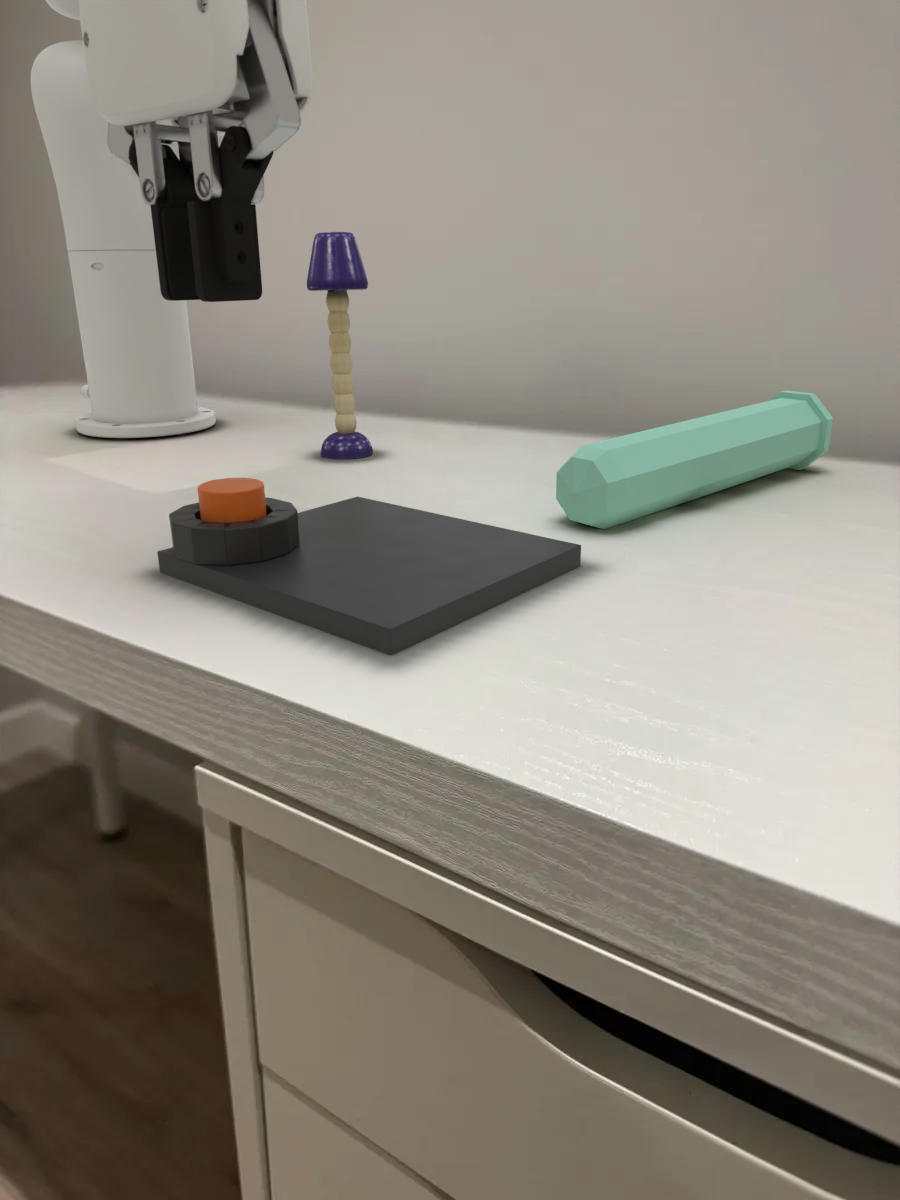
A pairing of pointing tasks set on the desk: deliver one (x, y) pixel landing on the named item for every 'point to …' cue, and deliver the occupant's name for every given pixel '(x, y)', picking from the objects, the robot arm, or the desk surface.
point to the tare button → (232, 500)
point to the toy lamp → (340, 334)
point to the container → (691, 459)
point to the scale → (363, 566)
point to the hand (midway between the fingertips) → (212, 296)
